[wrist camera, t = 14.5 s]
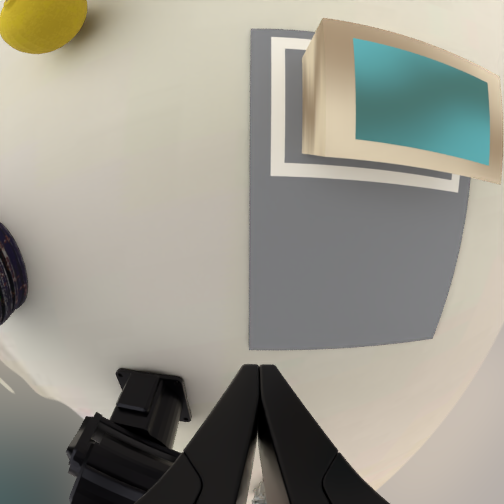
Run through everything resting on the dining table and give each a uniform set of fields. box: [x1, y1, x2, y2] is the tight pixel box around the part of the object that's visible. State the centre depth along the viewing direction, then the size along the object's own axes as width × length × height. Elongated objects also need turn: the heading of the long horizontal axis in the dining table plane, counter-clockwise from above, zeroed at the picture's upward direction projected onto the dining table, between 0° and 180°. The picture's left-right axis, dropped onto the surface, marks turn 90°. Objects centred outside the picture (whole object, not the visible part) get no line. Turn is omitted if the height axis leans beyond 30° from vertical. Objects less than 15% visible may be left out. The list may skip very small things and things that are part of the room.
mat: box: [249, 29, 471, 350], centre depth 17 cm, size 22×16×1 cm
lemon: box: [0, 0, 87, 54], centre depth 9 cm, size 6×6×8 cm
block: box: [302, 18, 503, 185], centre depth 12 cm, size 6×10×6 cm, turn 90°
